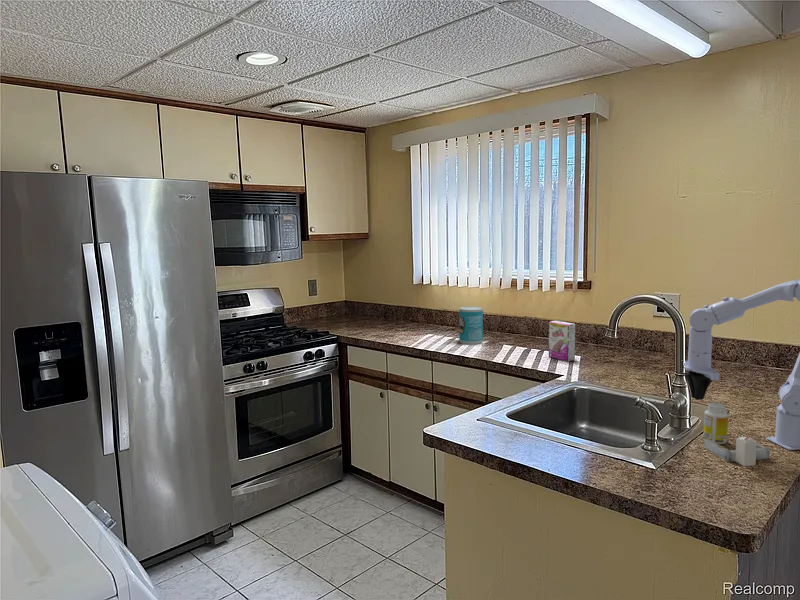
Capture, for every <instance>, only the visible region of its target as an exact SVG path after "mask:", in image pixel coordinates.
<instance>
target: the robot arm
mask: <svg viewBox="0 0 800 600" xmlns="http://www.w3.org/2000/svg"><path fill="white" fill-rule="evenodd" d="M794 298H796V300H797V301H798V302H800V278H798V279H796V280H795V279H793V280H788V281H785V282H782V283H779V284H776V285H773V286H771V287H769V288H766V289H762V290H760V291H758V292H755V293H753V294H750V295H748V296H746V297H743V298H737V297H733V296H732V297H729V296H724V297H722V300H721V301H718V302H715V303H712V304H710V305H709V304H706V305H703V307H704V308H702V307H701V308H696V309H693V311H692V312H691V314H690V316H689V325H690V328H689V334H688V353H687V360H684V361H685V363H684V362H683V368H682V369H684V370H685V371H687V372H684V373H683V374H684V377H685V379H686V380H687V383H688V386H689V387H688V388H689V390H690V395H691V398H692V399H695V400H696V401H697V400H698V401H699V400H700V401H702V400H704V399H705V395H706V394H707V390H708V388H709V386H710V384H711V383H712V382H713V381H720V377H721V376H720V372H719V371H718V372H717V371H716V370H715V369H714V368H712V352H713V351H712V350H713V336H712V329H713V326H714V325H715V326H717V325H718V326H719V325H721V324H725V323H728V322H731V321H733V320H736V319H739V318H742V317H743V316H744V314H745V312H746V311H747V310H750V309H755V308H757V307H760V306H764V305H767V304H770V303H772V302H773V303H774V302H777V301H785V302H786V301H787V302H791V303H792V302H793V303H794V302H795V301H794ZM684 366H685V367H684ZM778 398H779V399H780V400H781V401H780V404H779V405H778V406H777V407H776V419H775V432H774V434H775V435H774V436H767V437H766V440H768V441H770V442H772V443H774V444H777V445H779V446H780V447H782V448H784V449H786V450H788V451H796V450H800V352H799V353H798V356H797V358H796V361H795V364H794V366H793V369H792V371H791V373H790V374H789V376H787V380H786V381H785V383H783V384H782V385H781V386H780V387H779V389H778Z"/></svg>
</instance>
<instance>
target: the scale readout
mask: <svg viewBox="0 0 800 600" xmlns="http://www.w3.org/2000/svg"><path fill="white" fill-rule="evenodd" d="M735 441H736V443H735V450H736V455H735V461H734V462H736V463H738V464H739V465H741V466H743V467H753V466H756V464H757V463H756V447H757V443H758V442H757V441H756V440H755V439H753V438H752V437H749V436H744V437H740V436H739V437H736V439H735Z"/></svg>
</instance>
